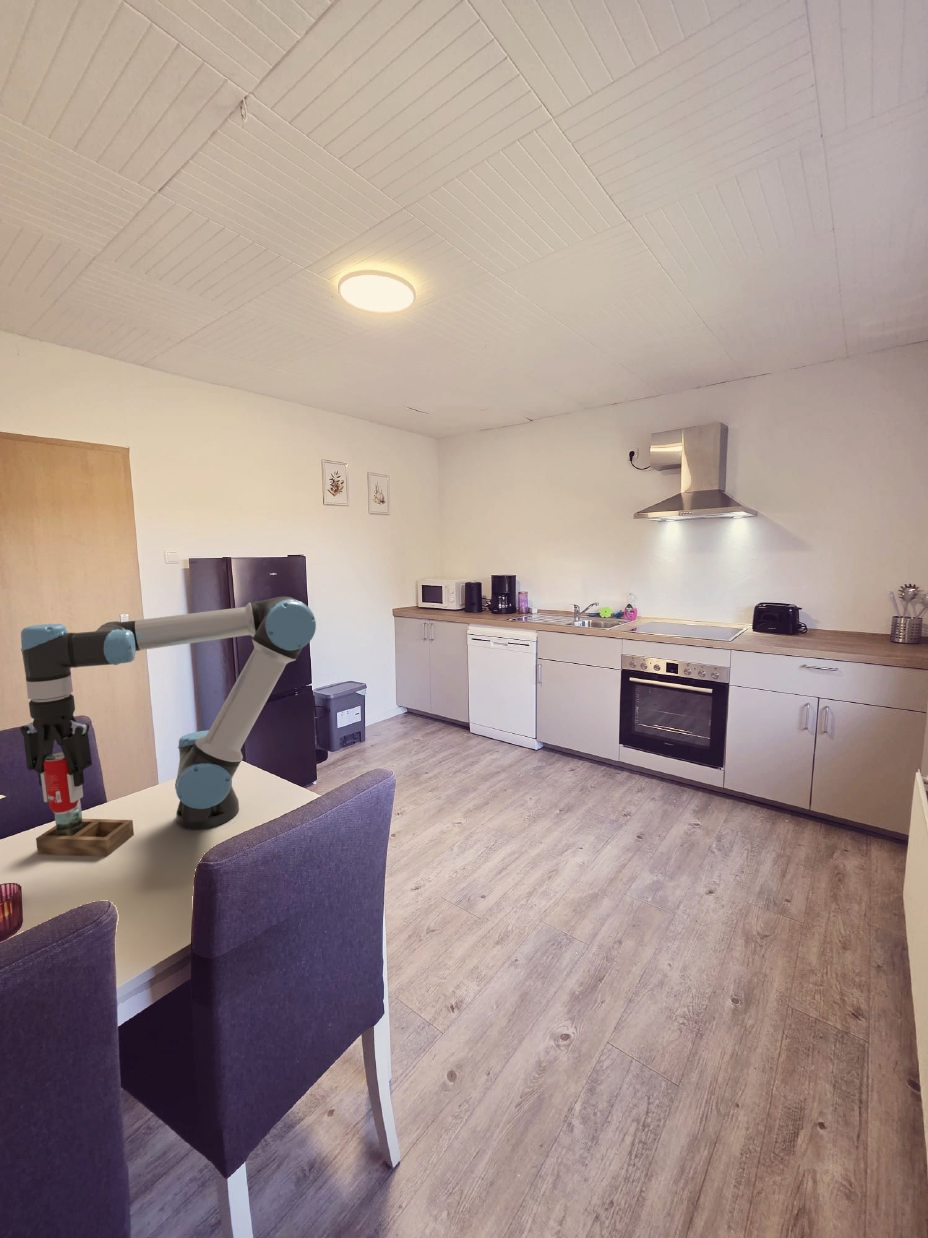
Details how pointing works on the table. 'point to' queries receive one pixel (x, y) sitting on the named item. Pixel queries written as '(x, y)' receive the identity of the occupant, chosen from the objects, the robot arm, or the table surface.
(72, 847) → the holder
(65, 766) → the beverage can
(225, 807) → the robot arm
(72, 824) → the transparent cylindrical container
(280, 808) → the table surface
